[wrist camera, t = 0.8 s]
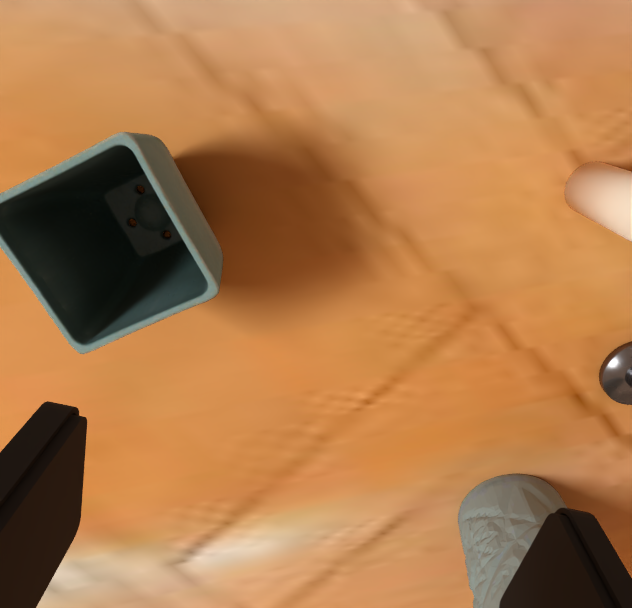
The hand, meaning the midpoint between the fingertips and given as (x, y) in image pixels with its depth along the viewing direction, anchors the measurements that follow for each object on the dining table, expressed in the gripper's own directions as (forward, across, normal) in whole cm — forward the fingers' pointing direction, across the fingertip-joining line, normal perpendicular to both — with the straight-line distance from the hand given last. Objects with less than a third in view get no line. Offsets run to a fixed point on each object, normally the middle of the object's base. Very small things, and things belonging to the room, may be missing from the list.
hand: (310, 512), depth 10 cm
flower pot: (+25, +11, +3) cm, 28 cm away
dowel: (+25, -16, -5) cm, 30 cm away
